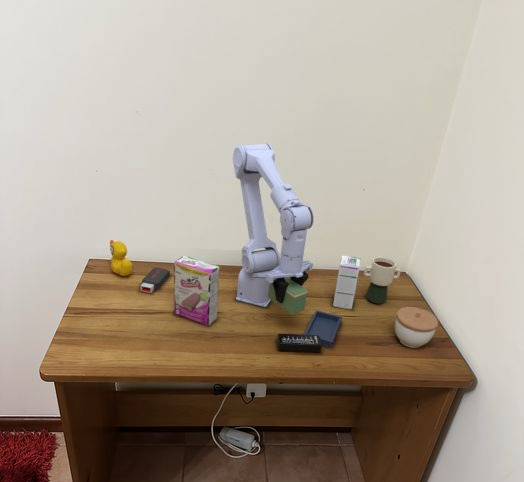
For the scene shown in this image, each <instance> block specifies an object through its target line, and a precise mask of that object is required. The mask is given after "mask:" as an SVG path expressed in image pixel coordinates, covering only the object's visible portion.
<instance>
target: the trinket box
mask: <svg viewBox="0 0 524 482" xmlns="http://www.w3.org/2000/svg"><path fill="white" fill-rule="evenodd" d="M438 326H439V320H438V318H437V316H436V315H434V313H432V312H430V311H428V310H426V309H423V308H421V307H416V306H403V307H401V308H399V309H398V310H397V312H396V317H395V321H394V331H395V335H396V337H397V338H398V340H399V342H400V344H402V345H403V346H406V347H408V348H412V349H417V348H420V347H422V346H424V345H427V344H428V343H429V342H430V341H431V340H432V338H433V337H434V335H435V333H436V330H437V328H438Z"/></svg>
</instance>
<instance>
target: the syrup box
mask: <svg viewBox="0 0 524 482" xmlns="http://www.w3.org/2000/svg"><path fill="white" fill-rule="evenodd" d="M360 267H361V257H356V256H353V255H351V256H350V255H341V258H340V261H339V267H338V272H337V277H336V278H337V279H336V284H335V291H334V297H333V302H332V306H333V307H336V308H338V309H339V308H340V309H346V310H352V309H353V306H354V305H353V304H354V300H355V295H356V290H357V285H358V279H359V274H360Z"/></svg>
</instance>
